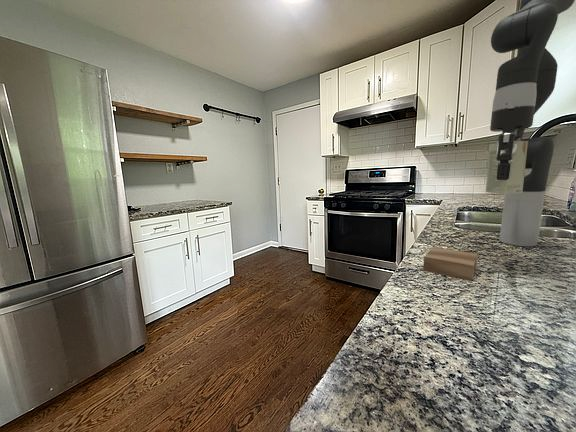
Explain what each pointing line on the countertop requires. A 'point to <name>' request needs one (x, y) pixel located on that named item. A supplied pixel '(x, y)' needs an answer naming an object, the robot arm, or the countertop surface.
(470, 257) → the walnut block
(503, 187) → the skincare box
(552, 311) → the countertop surface
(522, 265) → the countertop surface
